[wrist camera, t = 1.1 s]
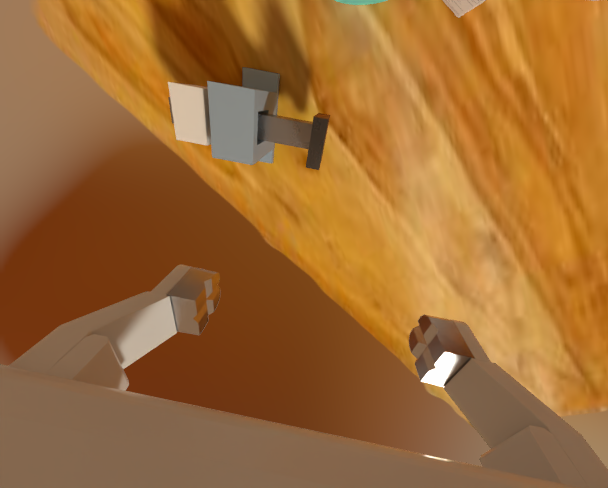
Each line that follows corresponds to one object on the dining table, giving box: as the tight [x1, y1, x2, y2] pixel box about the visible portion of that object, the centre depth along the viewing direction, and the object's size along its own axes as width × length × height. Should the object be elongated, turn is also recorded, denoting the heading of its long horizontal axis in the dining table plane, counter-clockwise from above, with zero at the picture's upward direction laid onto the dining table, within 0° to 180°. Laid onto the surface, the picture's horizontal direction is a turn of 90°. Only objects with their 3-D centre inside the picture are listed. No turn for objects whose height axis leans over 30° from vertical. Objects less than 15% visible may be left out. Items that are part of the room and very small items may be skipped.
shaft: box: [169, 97, 330, 170], centre depth 27 cm, size 5×20×8 cm, turn 81°
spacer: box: [168, 82, 211, 145], centre depth 30 cm, size 6×4×7 cm, turn 171°
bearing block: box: [207, 67, 280, 165], centre depth 30 cm, size 12×5×12 cm, turn 171°
